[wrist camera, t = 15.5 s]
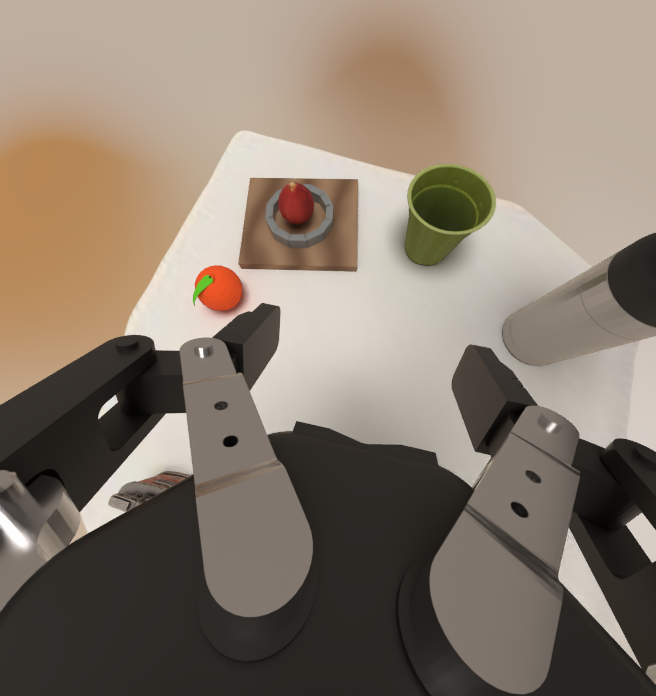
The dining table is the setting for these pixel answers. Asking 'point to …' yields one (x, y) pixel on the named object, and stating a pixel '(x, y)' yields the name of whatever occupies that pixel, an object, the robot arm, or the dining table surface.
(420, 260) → the plant pot
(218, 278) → the clementine
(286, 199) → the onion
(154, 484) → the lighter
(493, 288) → the dining table surface
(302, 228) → the board
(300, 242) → the ring
